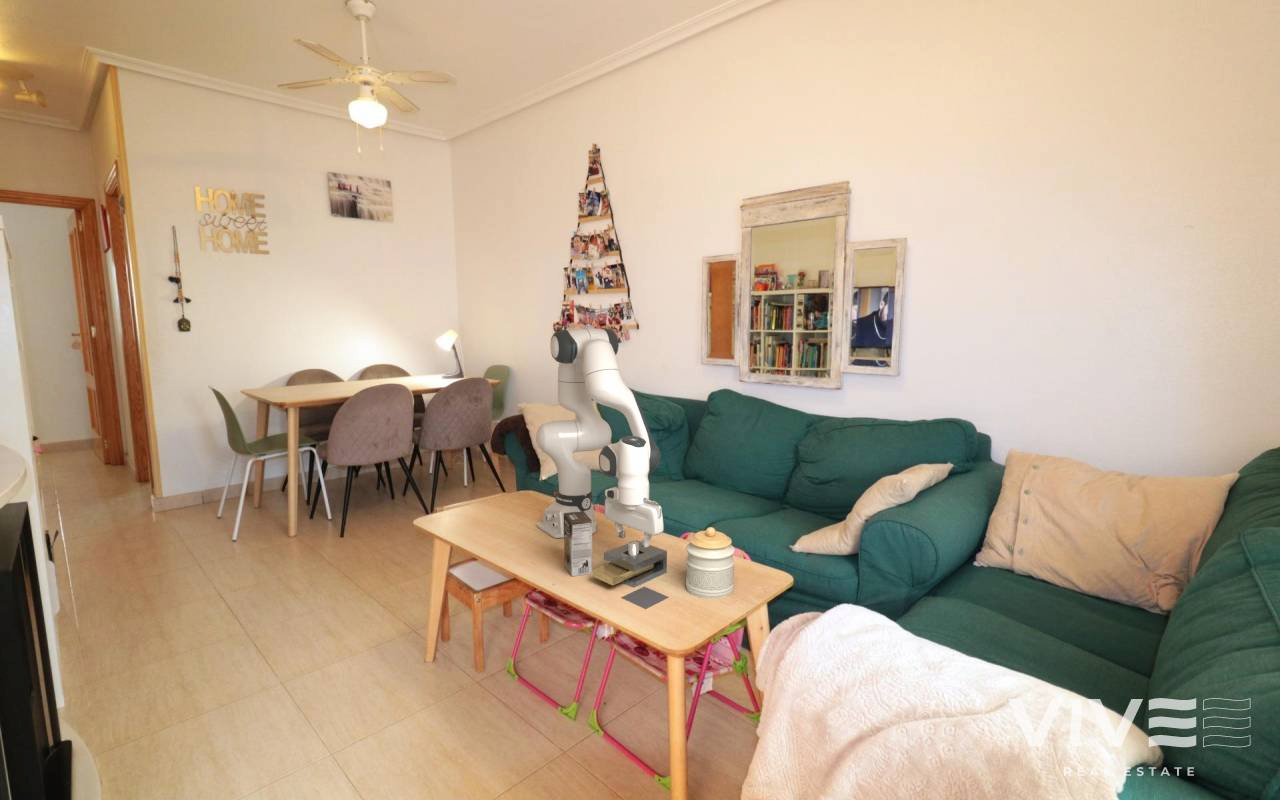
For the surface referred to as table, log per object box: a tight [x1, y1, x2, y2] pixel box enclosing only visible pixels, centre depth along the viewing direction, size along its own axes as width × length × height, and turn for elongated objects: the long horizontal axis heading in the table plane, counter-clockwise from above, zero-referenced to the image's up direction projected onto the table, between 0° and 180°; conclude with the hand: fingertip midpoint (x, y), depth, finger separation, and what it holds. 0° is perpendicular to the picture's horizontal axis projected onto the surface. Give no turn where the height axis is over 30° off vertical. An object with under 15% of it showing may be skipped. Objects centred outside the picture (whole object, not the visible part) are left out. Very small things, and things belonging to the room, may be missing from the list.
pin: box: [627, 540, 639, 557], centre depth 167 cm, size 3×3×10 cm
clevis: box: [592, 539, 668, 589], centre depth 166 cm, size 12×20×7 cm, turn 136°
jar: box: [685, 526, 736, 600], centre depth 158 cm, size 13×13×18 cm
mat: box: [620, 586, 670, 610], centre depth 154 cm, size 9×9×1 cm
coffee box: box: [563, 511, 593, 577], centre depth 171 cm, size 9×6×16 cm
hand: (633, 541), depth 167 cm, fingers open, 8 cm apart
